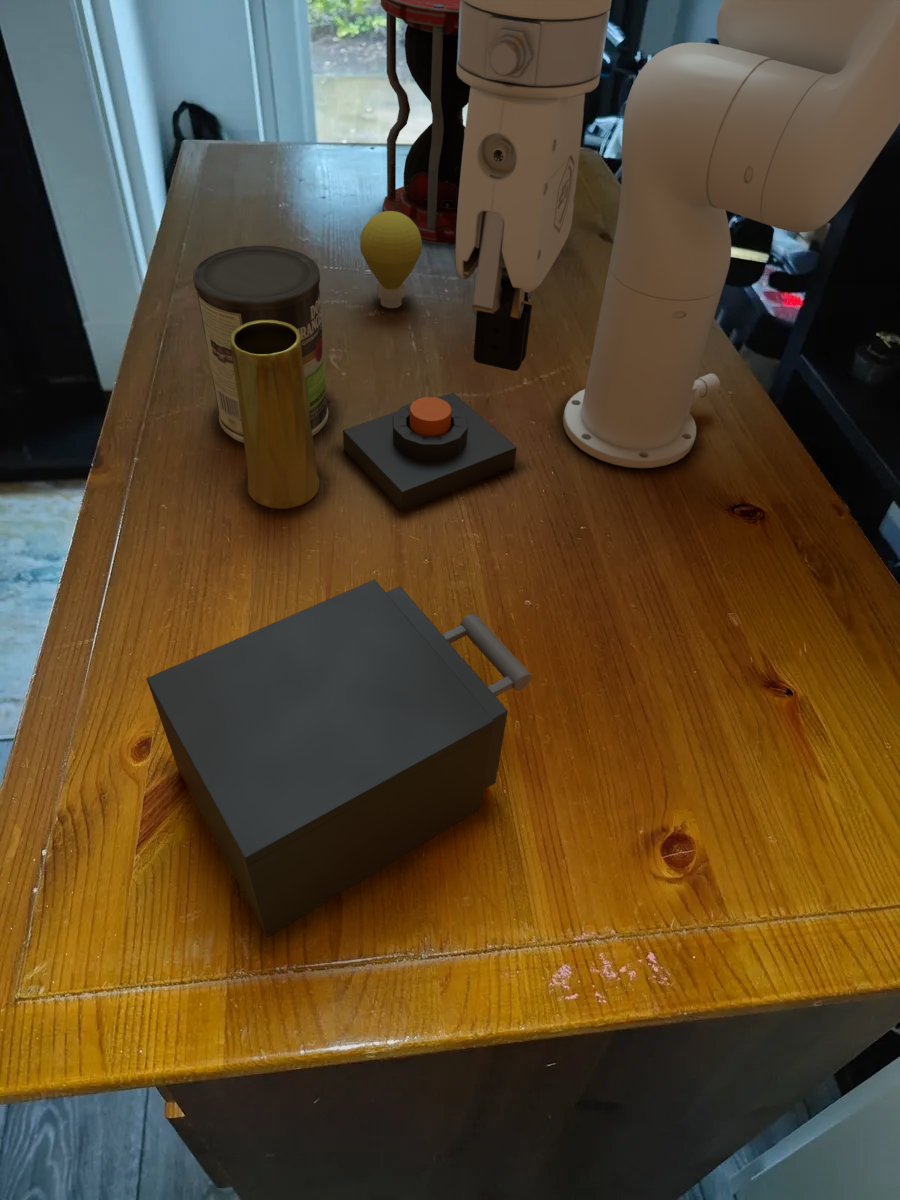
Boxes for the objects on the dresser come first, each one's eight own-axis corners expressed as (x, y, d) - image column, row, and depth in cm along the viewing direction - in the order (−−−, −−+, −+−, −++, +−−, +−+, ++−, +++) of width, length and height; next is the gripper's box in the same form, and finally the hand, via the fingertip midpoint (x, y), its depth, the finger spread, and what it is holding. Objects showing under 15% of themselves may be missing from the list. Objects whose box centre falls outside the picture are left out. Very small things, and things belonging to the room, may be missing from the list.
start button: (435, 409, 76) (436, 392, 74) (458, 429, 74) (459, 412, 72) (401, 421, 74) (401, 404, 73) (424, 442, 72) (424, 425, 71)
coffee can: (342, 394, 83) (335, 253, 72) (309, 456, 76) (296, 310, 66) (242, 377, 84) (221, 236, 74) (200, 437, 77) (171, 291, 67)
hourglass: (367, 235, 107) (362, -2, 89) (400, 187, 118) (401, -32, 100) (491, 253, 105) (512, 16, 87) (513, 203, 116) (536, -17, 98)
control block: (452, 411, 82) (454, 375, 79) (514, 467, 76) (519, 430, 73) (343, 450, 77) (341, 412, 74) (402, 512, 71) (402, 474, 68)
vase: (261, 518, 70) (238, 366, 59) (238, 475, 73) (212, 325, 63) (330, 498, 72) (319, 348, 62) (304, 458, 76) (290, 309, 65)
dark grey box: (376, 673, 59) (374, 578, 52) (480, 809, 53) (494, 720, 46) (178, 770, 53) (146, 677, 46) (267, 938, 47) (244, 858, 40)
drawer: (450, 638, 61) (456, 560, 55) (549, 751, 55) (567, 678, 49) (218, 751, 53) (198, 675, 48) (303, 897, 47) (290, 830, 42)
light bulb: (351, 309, 94) (347, 218, 87) (377, 284, 98) (375, 195, 91) (406, 323, 93) (407, 232, 85) (429, 297, 97) (433, 208, 90)
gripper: (567, 99, 38) (522, 436, 51) (630, 20, 47) (578, 320, 61) (410, 74, 39) (407, 407, 53) (502, 2, 49) (480, 299, 62)
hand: (499, 360), depth 57 cm, fingers closed
